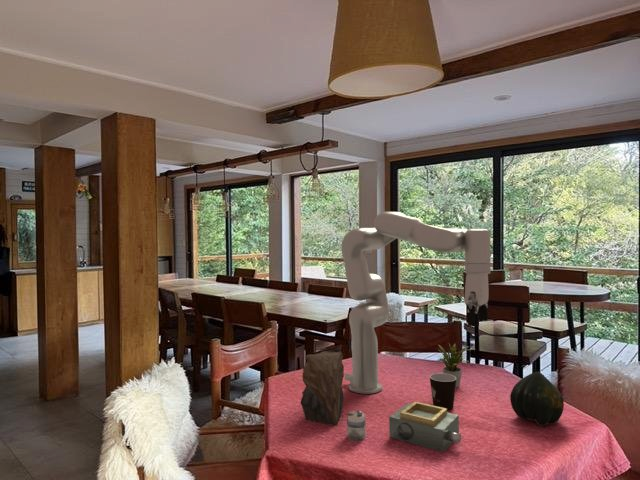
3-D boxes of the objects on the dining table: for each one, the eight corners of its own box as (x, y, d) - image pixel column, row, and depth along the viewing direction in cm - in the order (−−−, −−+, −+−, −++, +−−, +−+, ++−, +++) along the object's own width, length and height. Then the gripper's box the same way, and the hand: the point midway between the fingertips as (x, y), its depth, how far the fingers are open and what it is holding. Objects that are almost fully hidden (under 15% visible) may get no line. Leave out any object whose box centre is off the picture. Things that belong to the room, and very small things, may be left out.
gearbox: (388, 438, 131) (388, 412, 131) (407, 422, 141) (407, 398, 141) (453, 456, 120) (453, 428, 120) (469, 438, 130) (469, 412, 130)
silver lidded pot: (343, 438, 132) (343, 411, 131) (353, 431, 136) (353, 405, 136) (359, 443, 129) (359, 415, 128) (368, 435, 133) (368, 409, 133)
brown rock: (299, 420, 145) (298, 357, 144) (316, 405, 156) (315, 347, 156) (336, 426, 140) (335, 361, 139) (351, 410, 151) (350, 350, 151)
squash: (526, 415, 132) (553, 372, 135) (493, 399, 146) (518, 360, 149) (557, 443, 135) (584, 400, 137) (522, 424, 149) (547, 386, 152)
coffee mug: (457, 413, 148) (457, 382, 148) (430, 411, 150) (430, 380, 149) (454, 399, 159) (454, 371, 159) (429, 398, 161) (428, 370, 161)
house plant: (479, 393, 165) (479, 347, 165) (441, 393, 165) (440, 348, 165) (467, 379, 179) (467, 338, 179) (432, 380, 180) (431, 338, 179)
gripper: (473, 266, 152) (474, 317, 153) (456, 270, 138) (457, 327, 139) (497, 266, 148) (497, 319, 149) (482, 271, 134) (482, 329, 134)
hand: (478, 323), depth 144 cm, fingers open, 9 cm apart
